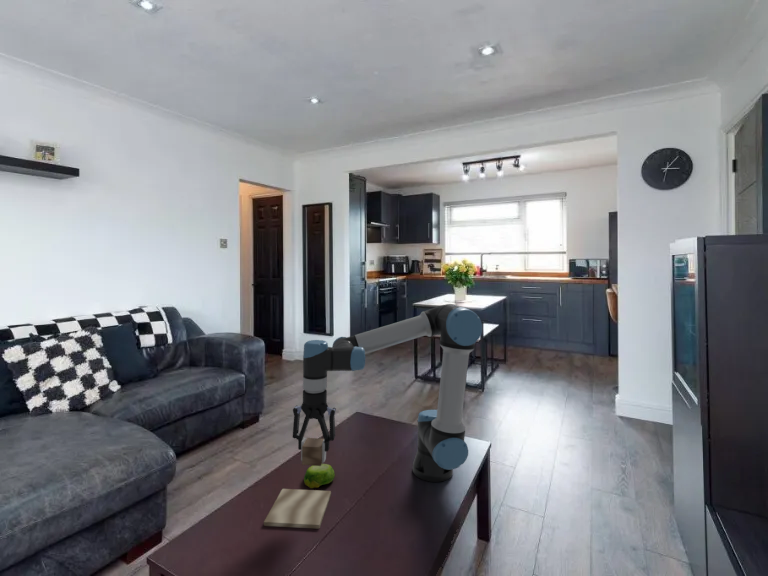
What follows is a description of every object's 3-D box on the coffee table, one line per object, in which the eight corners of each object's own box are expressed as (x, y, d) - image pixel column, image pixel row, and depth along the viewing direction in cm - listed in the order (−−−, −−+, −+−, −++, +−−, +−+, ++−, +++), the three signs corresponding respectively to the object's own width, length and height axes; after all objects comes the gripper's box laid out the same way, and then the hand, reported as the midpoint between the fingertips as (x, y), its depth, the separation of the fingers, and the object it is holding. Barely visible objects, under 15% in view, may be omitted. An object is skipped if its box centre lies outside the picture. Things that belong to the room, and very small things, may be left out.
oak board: (331, 494, 133) (331, 491, 133) (319, 528, 116) (319, 524, 116) (282, 492, 134) (282, 488, 134) (263, 525, 117) (263, 521, 117)
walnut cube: (325, 456, 128) (325, 438, 128) (320, 466, 122) (321, 447, 122) (307, 455, 128) (307, 437, 128) (302, 464, 122) (302, 446, 122)
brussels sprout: (329, 490, 136) (328, 477, 135) (299, 487, 137) (299, 473, 137) (338, 473, 147) (338, 460, 146) (311, 470, 149) (311, 457, 148)
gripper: (346, 387, 127) (344, 455, 128) (289, 384, 128) (288, 452, 130) (342, 395, 119) (340, 467, 121) (281, 391, 120) (280, 463, 122)
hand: (313, 459), depth 125 cm, fingers closed on walnut cube, 6 cm apart
